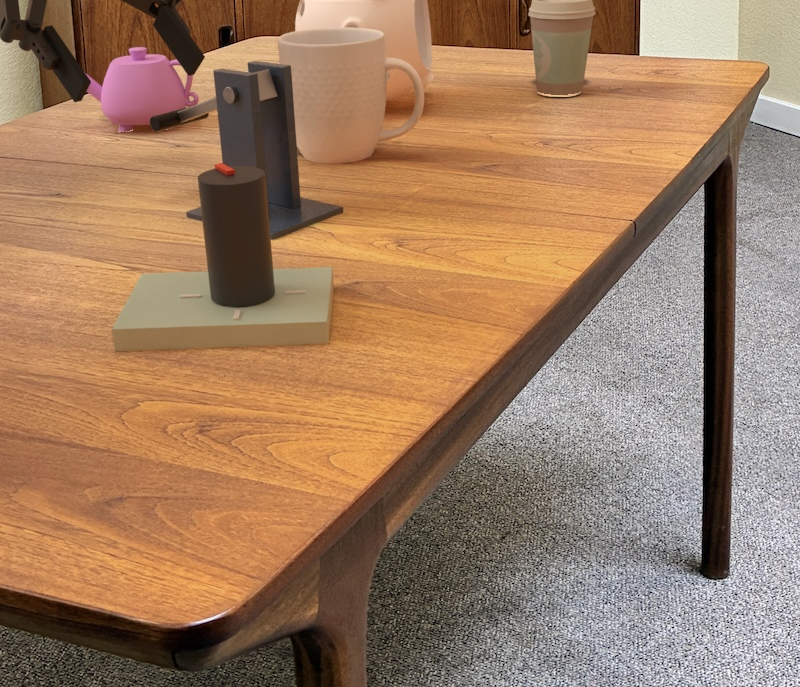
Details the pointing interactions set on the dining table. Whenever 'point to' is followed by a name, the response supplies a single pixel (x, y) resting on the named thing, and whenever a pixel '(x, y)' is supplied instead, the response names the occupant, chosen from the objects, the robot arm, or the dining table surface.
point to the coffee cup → (560, 43)
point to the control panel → (224, 313)
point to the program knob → (237, 235)
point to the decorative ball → (389, 13)
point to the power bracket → (265, 144)
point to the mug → (342, 91)
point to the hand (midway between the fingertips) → (142, 79)
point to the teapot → (141, 89)
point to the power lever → (208, 107)
